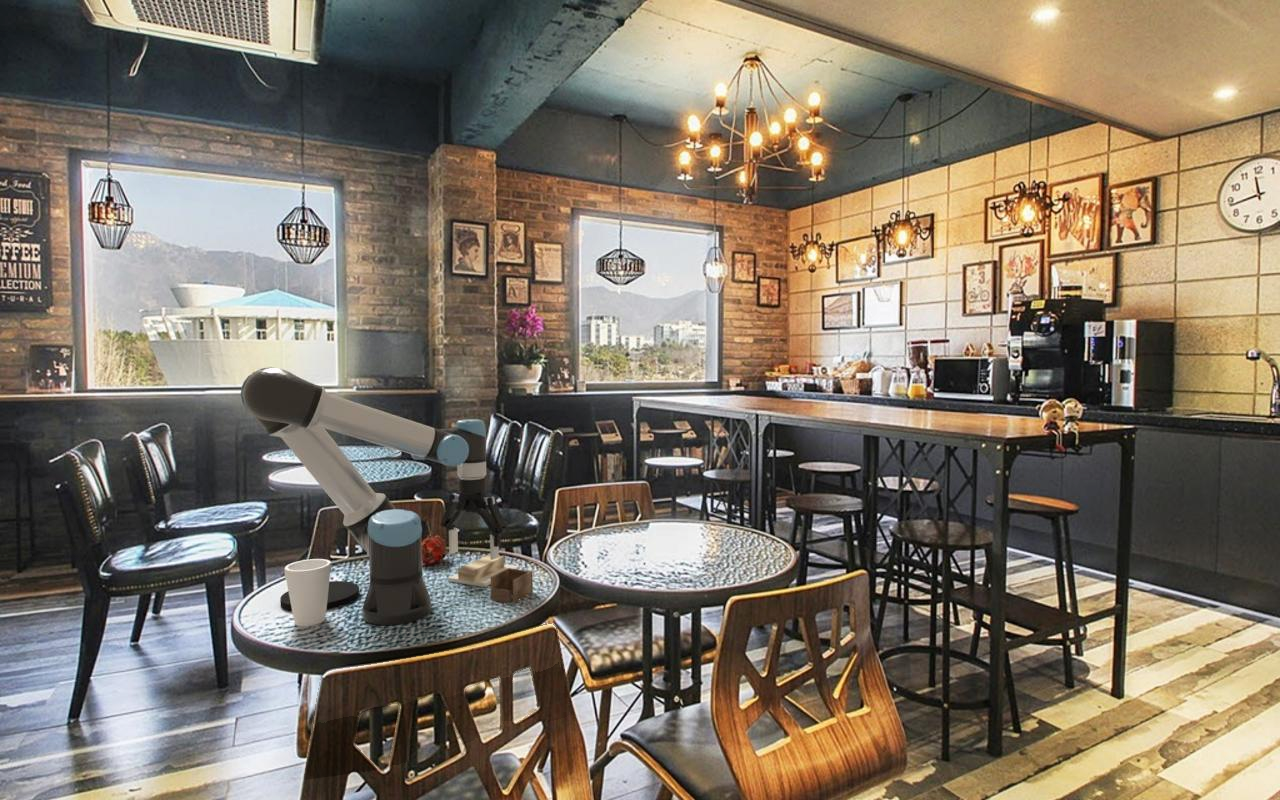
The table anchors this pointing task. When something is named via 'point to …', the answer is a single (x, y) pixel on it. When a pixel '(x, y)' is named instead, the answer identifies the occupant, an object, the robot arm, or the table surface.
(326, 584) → the foam cup
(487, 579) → the cream pad
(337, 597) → the wireless charger
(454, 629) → the table surface
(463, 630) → the table surface
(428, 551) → the dragon fruit
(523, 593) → the box
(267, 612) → the table surface
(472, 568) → the maple bar
